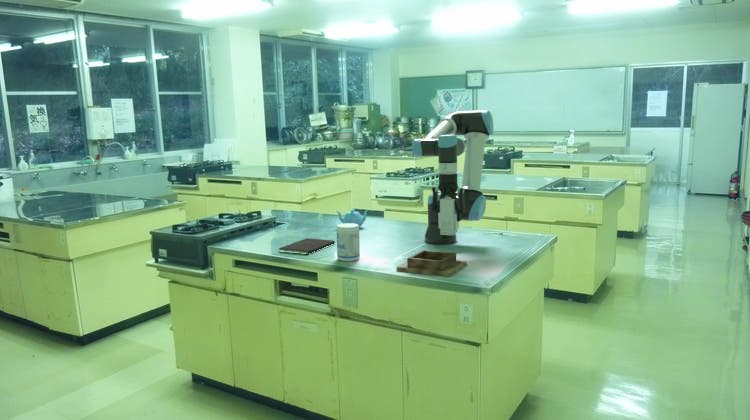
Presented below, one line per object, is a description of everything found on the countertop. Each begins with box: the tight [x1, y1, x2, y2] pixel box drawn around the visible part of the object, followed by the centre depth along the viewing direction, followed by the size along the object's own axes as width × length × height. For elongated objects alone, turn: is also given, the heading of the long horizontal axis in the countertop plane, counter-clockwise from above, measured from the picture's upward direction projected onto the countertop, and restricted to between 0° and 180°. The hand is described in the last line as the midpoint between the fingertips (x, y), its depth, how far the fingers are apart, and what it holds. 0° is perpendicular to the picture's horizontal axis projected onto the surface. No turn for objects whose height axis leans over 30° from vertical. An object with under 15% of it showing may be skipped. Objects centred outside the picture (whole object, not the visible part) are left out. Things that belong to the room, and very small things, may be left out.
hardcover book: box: [278, 237, 336, 254], centre depth 252 cm, size 16×23×2 cm
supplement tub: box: [336, 223, 361, 262], centre depth 228 cm, size 10×10×15 cm
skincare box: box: [440, 197, 458, 236], centre depth 223 cm, size 8×6×15 cm
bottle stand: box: [396, 249, 468, 278], centre depth 211 cm, size 22×18×5 cm
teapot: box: [335, 207, 369, 228], centre depth 296 cm, size 13×13×10 cm
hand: (448, 228), depth 224 cm, fingers closed on skincare box, 6 cm apart
